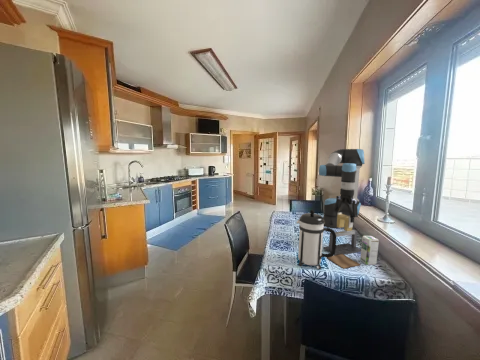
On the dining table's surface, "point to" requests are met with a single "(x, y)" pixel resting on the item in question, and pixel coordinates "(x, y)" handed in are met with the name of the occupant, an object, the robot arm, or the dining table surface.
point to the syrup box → (369, 250)
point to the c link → (340, 222)
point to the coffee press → (313, 239)
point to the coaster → (343, 261)
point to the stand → (346, 247)
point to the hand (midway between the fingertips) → (344, 224)
